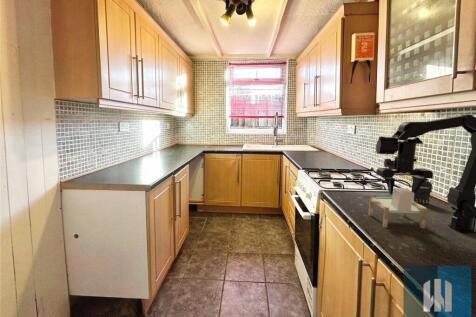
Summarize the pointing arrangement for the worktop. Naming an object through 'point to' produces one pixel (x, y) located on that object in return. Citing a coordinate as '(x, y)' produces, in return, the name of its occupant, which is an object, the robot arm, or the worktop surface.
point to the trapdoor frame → (386, 210)
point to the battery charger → (423, 193)
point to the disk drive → (382, 196)
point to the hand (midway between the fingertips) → (401, 194)
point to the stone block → (402, 198)
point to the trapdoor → (394, 210)
